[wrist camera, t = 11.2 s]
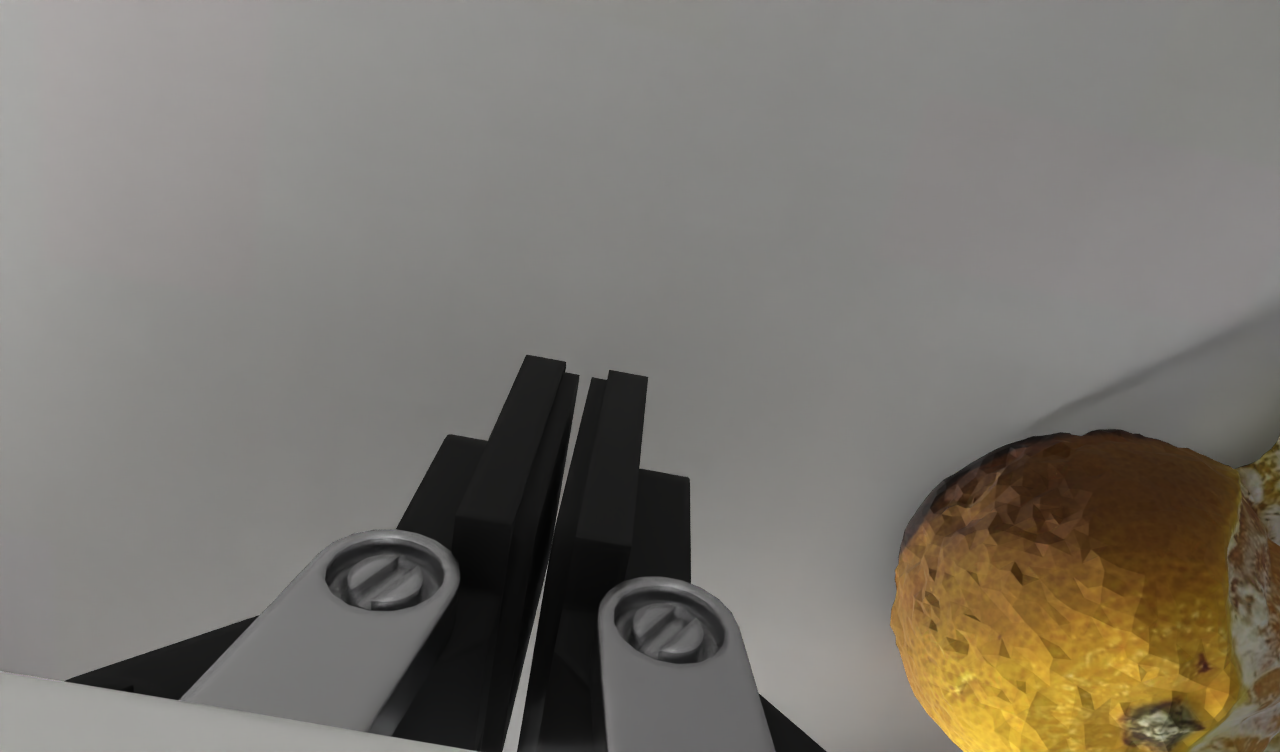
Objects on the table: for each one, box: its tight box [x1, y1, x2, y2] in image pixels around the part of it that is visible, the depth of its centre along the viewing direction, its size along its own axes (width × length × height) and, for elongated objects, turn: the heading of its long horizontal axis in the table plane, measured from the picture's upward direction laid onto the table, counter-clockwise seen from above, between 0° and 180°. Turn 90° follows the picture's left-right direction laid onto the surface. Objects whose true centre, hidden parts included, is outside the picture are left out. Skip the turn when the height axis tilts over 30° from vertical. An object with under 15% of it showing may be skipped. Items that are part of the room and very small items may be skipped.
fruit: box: [890, 429, 1280, 752], centre depth 13 cm, size 8×8×4 cm
